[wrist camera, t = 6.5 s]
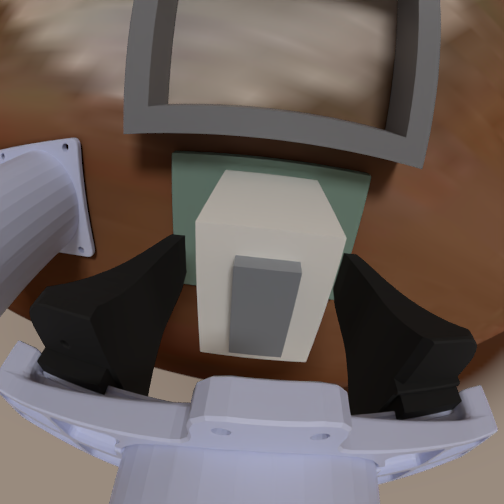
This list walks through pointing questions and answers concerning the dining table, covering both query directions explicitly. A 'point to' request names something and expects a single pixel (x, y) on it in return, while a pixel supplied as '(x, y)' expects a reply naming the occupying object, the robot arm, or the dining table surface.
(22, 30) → the dining table surface
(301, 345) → the block
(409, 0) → the grey square frame
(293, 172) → the rubber mat
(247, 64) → the dining table surface
